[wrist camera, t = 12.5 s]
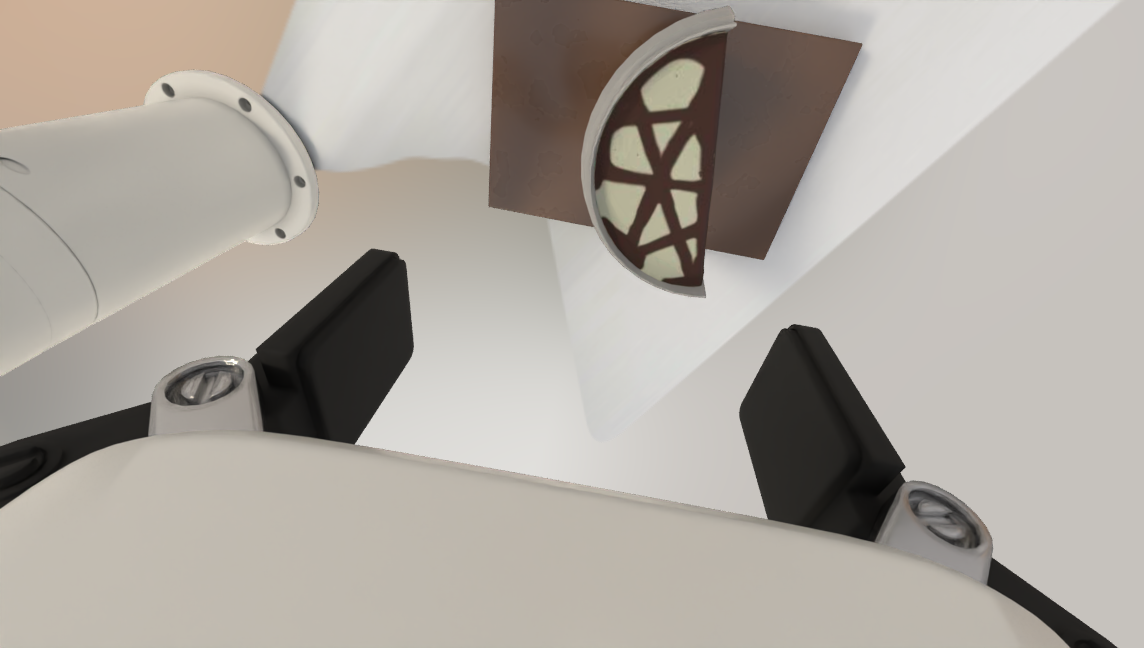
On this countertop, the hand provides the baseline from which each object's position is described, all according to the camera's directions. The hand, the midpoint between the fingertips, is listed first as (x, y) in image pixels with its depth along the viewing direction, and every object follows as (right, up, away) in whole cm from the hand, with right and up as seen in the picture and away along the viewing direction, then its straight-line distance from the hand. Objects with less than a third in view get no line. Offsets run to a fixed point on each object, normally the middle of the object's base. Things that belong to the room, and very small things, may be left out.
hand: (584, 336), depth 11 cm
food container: (+4, +12, +16) cm, 21 cm away
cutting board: (+5, +13, +17) cm, 22 cm away
